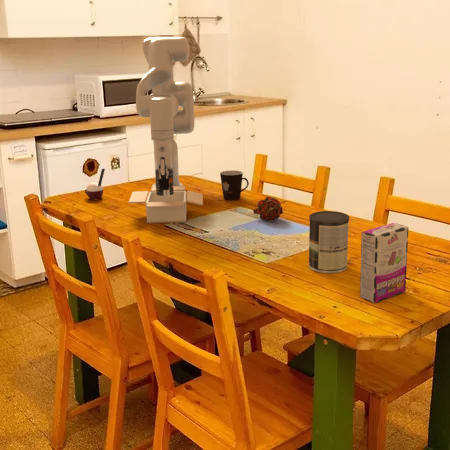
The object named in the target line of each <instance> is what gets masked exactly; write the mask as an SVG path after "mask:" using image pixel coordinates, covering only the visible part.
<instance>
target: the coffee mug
mask: <svg viewBox="0 0 450 450" xmlns="http://www.w3.org/2000/svg"><path fill="white" fill-rule="evenodd" d="M243 174H244V173H243V171H240V170H233V169H231V170H223V171H220V172H219V176H220V182H221V183H220V184H221V190H222V195H223V196H222V198H223V200H224V201H228V202H229V201H238V200H240V199H241V196H242V195H241V194H242V192H243V191H245V190H246V189H247V188H248V187H249V184H250V183H249V180H248V179H247V178H246V177H243V176H244V175H243ZM243 180H245V181H246V186H245V187H244V188H242V186H243Z"/></svg>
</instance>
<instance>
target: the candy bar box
mask: <svg viewBox="0 0 450 450" xmlns="http://www.w3.org/2000/svg"><path fill="white" fill-rule="evenodd" d="M360 240H361V245H360V246H361V249H360V278H359V279H360V280H359V281H360V286H359V288H360V289H359V297H360V298H361V299H363V300H365V301H369V302H370V303H373V304H377V303H380V302H382V301H385V300H387V299H390V298H394V297H395V296H397V295H398V296H399V295H400V294H403V293H406V285H407V283H406V282H407V268H408V267H407V266H408V265H407V261H408V246H409V245H408V244H409V226H407V225H403V224H399V223H396V222H392V223H388V224H384V225H381V226H377V227H374V228H371V229H367V230H364V231H361V239H360Z"/></svg>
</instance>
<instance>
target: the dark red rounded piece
mask: <svg viewBox="0 0 450 450" xmlns="http://www.w3.org/2000/svg"><path fill="white" fill-rule="evenodd" d="M254 208H255V209H252V212H253V214H254V215H255V214H256V215H259V219H260V220H262V221H266V220H267V221H268V222H274V221H275V220H278V219H279V218H280V216H281V215H282V214H284V210H283V209H284V208H283V206H282V204H281V202H280V201H279V200H278V199H277V198H275V197H271V196H266V197H265V198H264V199H260V200H259V201H258V202H257V204H256V205H255V206H254Z"/></svg>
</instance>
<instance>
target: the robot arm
mask: <svg viewBox="0 0 450 450" xmlns="http://www.w3.org/2000/svg"><path fill="white" fill-rule="evenodd" d="M141 44H142V52H143V55H144V57H145V59H146V62H147V64H148V72H147V73H146V74H145V75H143V77H142V78H141V79H140V80H139V82H138V83H137V87H136V91H135V95H136V96H135V98H136V99H135V108H136V112H137V114H138V115H139V116H140V117H141V118H149V120H150V121H149V123H150V137H151V138H150V140H151V141H153V142H152V143H153V154H154V155H153V156H154V171H155V170H156V169H158V170H159V189H160V190H169V178H168V169H170V170H171V169H172V170H173V186H184V185H183V183H181V182H180V179H179V177H180V176H179V154H178V150H179V149H178V144H177V141H176V140H175V135H179V134H180V135H184V134H186V135H187V134H191V133H193V132H194V130H195V106H194V105H195V104H194V103H195V101H194V91H193V90H194V89H193V86H192V85H191V83H189V82H187V81H174V68H173V63H174V62H175V63H176V62H187V61H188V60H189V57H190V53H191V52H190V51H191V50H190V49H191V48H190V44H189V40H188V39H187V37H185V36H155V37H148V38H145V39H144V40H143V42H142V43H141ZM150 91H152V94H147V93H148V92H150ZM179 108H182V109H179ZM165 168H166V169H165ZM165 171H166V172H165ZM155 181H156V177H155ZM152 187H156V183H153V184H152V186H151V188H152Z"/></svg>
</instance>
